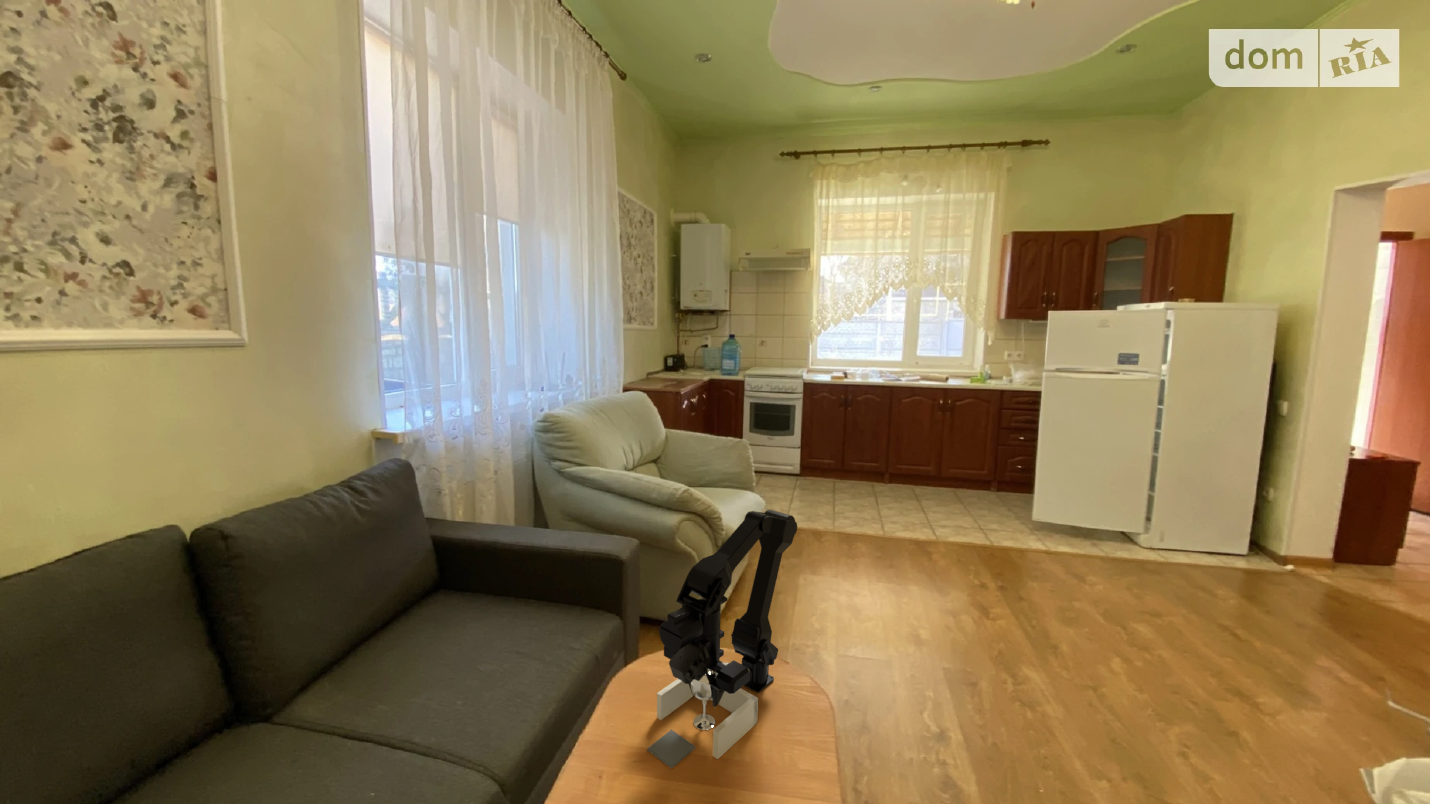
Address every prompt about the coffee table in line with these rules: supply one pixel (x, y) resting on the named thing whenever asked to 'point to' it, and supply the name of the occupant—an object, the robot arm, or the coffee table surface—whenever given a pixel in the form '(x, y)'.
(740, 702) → the corner wall
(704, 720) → the wineglass
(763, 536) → the robot arm
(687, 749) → the felt mat
